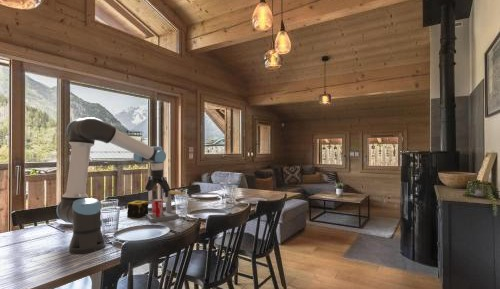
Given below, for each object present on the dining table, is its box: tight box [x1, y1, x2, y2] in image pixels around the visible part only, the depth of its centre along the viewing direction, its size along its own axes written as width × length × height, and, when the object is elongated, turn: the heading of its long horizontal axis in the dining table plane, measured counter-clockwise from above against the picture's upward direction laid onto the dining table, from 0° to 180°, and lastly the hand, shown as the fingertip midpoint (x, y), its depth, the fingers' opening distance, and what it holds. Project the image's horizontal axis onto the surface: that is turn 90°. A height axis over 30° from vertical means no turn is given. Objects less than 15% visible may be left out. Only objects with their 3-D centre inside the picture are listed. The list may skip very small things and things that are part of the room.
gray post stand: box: [144, 194, 179, 223], centre depth 187 cm, size 18×14×15 cm
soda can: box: [151, 198, 164, 218], centre depth 184 cm, size 7×7×13 cm
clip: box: [168, 188, 186, 196], centre depth 191 cm, size 15×4×3 cm, turn 67°
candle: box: [126, 200, 149, 219], centre depth 192 cm, size 10×10×10 cm
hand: (157, 201), depth 185 cm, fingers open, 13 cm apart
